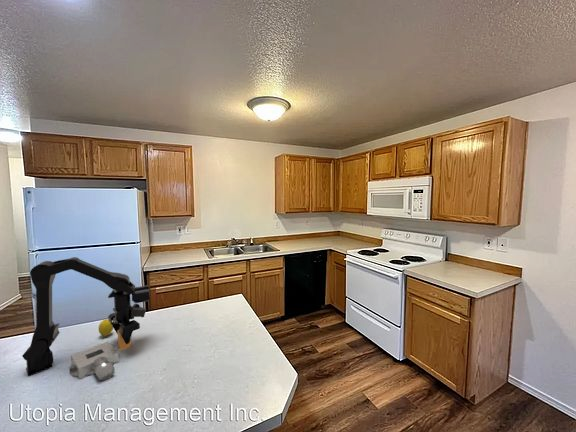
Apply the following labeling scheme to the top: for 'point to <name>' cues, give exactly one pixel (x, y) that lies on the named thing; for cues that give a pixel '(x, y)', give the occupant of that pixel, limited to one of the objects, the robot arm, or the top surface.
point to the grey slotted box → (95, 362)
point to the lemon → (105, 327)
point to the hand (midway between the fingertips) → (124, 340)
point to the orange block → (122, 342)
